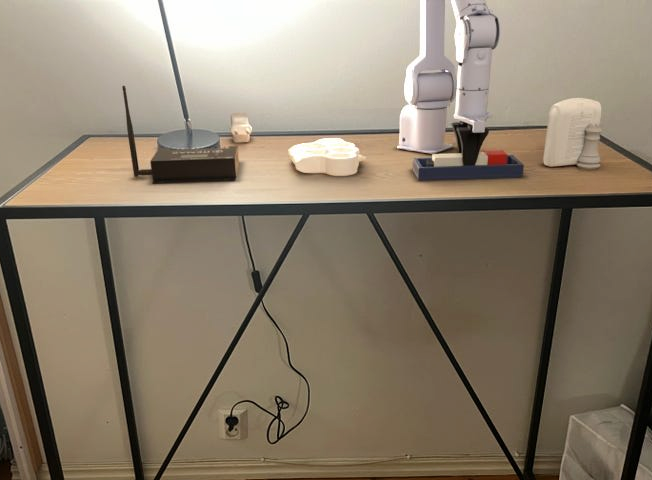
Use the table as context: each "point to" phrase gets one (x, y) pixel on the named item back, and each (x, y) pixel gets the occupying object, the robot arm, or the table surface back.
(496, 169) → the tray
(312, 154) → the white lobed tray
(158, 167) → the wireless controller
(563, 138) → the photo printer
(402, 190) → the table surface
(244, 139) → the power adapter
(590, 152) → the rook chess piece
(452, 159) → the marker
